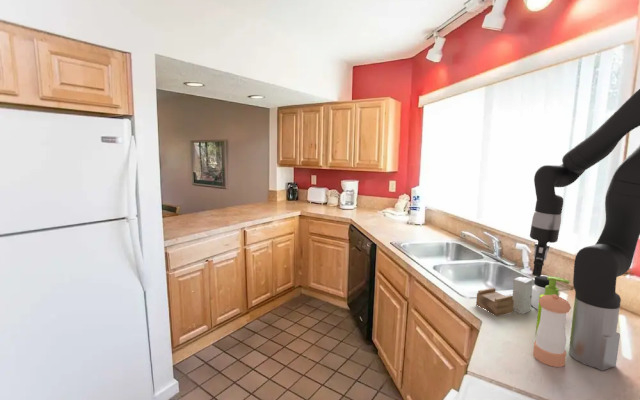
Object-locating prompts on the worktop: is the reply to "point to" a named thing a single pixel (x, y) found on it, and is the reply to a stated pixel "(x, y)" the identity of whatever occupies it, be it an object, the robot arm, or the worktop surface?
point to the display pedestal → (495, 302)
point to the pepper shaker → (551, 331)
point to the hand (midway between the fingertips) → (537, 271)
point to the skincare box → (522, 294)
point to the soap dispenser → (549, 293)
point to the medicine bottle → (538, 289)
